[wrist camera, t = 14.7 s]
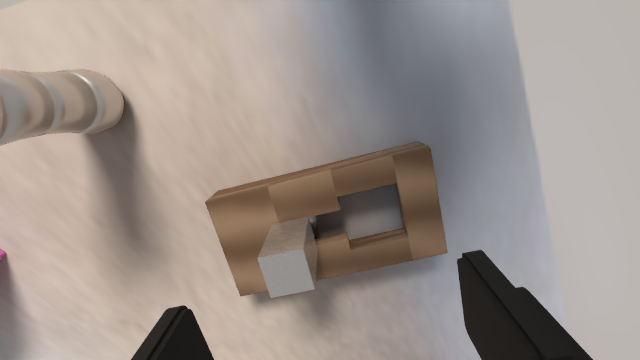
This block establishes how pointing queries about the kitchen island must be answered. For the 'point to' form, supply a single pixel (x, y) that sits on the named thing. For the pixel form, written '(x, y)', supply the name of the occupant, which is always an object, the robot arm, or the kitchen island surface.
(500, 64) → the kitchen island surface
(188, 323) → the robot arm
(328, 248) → the keyhole plate
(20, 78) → the plastic bottle
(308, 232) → the steel peg
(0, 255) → the gum box
